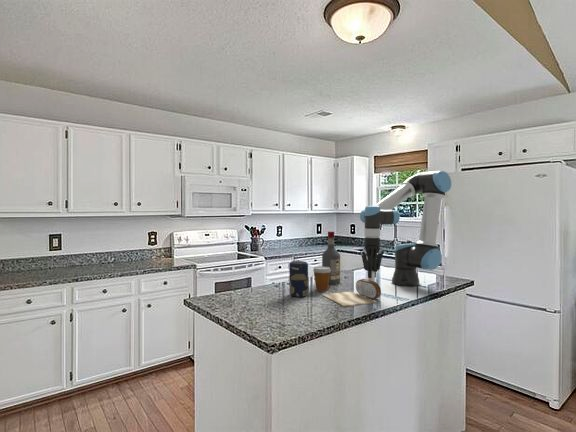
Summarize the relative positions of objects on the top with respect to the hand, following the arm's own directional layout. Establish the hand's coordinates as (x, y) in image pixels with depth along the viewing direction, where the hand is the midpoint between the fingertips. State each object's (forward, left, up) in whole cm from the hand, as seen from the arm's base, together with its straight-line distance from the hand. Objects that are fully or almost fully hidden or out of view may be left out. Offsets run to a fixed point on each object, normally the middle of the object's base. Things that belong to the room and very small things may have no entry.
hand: (371, 284), depth 174 cm
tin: (+2, 0, -6) cm, 7 cm away
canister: (+33, -16, -6) cm, 37 cm away
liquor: (+4, -36, -6) cm, 36 cm away
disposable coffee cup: (+17, -22, -6) cm, 28 cm away
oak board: (+13, 0, -6) cm, 15 cm away
